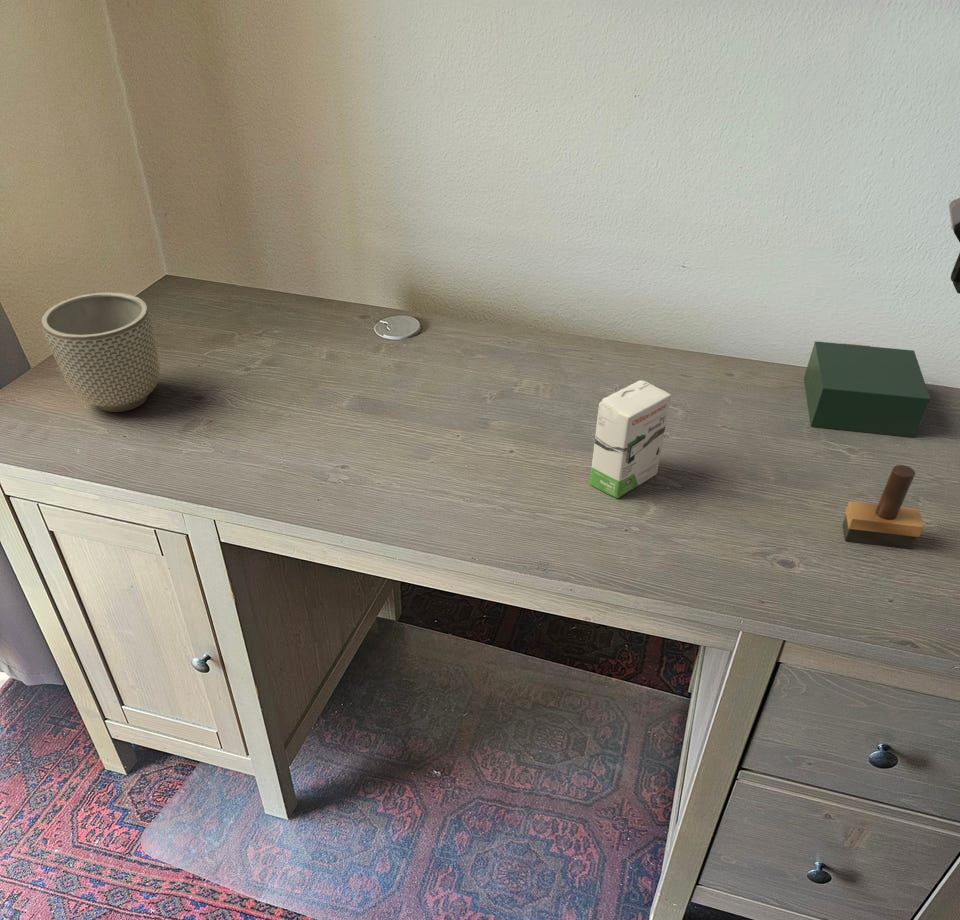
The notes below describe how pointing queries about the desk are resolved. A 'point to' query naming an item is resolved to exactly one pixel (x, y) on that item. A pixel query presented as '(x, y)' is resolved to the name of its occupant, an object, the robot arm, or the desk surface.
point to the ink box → (629, 438)
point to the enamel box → (865, 389)
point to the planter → (105, 348)
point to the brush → (885, 515)
